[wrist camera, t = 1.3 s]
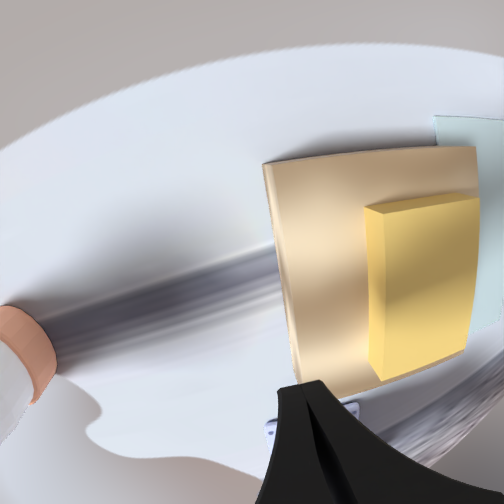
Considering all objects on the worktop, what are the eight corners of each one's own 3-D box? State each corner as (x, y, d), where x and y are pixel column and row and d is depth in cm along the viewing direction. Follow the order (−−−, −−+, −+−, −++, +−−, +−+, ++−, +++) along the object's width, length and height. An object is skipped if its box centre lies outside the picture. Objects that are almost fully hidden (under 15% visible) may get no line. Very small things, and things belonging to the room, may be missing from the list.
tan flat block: (435, 327, 21) (463, 353, 17) (293, 369, 21) (305, 407, 17) (436, 145, 17) (475, 146, 13) (261, 164, 17) (272, 165, 13)
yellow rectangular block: (448, 333, 17) (465, 348, 15) (367, 361, 17) (381, 381, 15) (456, 192, 14) (479, 197, 12) (363, 206, 14) (383, 214, 12)
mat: (497, 318, 22) (499, 320, 22) (432, 347, 22) (434, 349, 22) (504, 120, 17) (506, 120, 17) (432, 116, 17) (435, 116, 16)
